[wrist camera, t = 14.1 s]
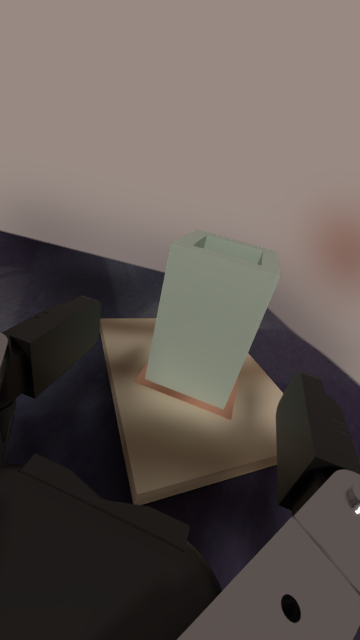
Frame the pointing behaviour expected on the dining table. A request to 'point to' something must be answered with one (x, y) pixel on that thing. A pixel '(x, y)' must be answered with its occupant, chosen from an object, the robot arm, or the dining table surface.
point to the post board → (184, 420)
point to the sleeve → (209, 314)
